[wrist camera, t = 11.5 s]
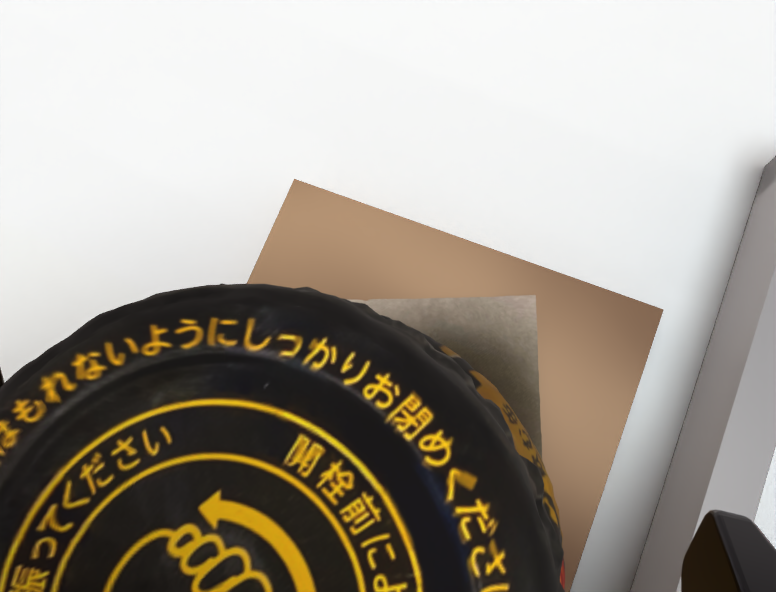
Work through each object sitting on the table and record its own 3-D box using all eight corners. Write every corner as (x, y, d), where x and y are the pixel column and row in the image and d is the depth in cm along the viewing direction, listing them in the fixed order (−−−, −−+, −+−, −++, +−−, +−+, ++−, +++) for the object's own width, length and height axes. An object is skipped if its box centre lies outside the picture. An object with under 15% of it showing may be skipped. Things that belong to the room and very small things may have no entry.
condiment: (228, 659, 16) (-353, 1170, 4) (248, 301, 18) (-122, 12, 6) (550, 670, 15) (841, 1302, 4) (534, 298, 17) (695, -33, 6)
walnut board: (489, 802, 16) (491, 824, 15) (112, 614, 18) (92, 624, 17) (652, 317, 18) (663, 309, 17) (302, 192, 20) (294, 179, 19)
